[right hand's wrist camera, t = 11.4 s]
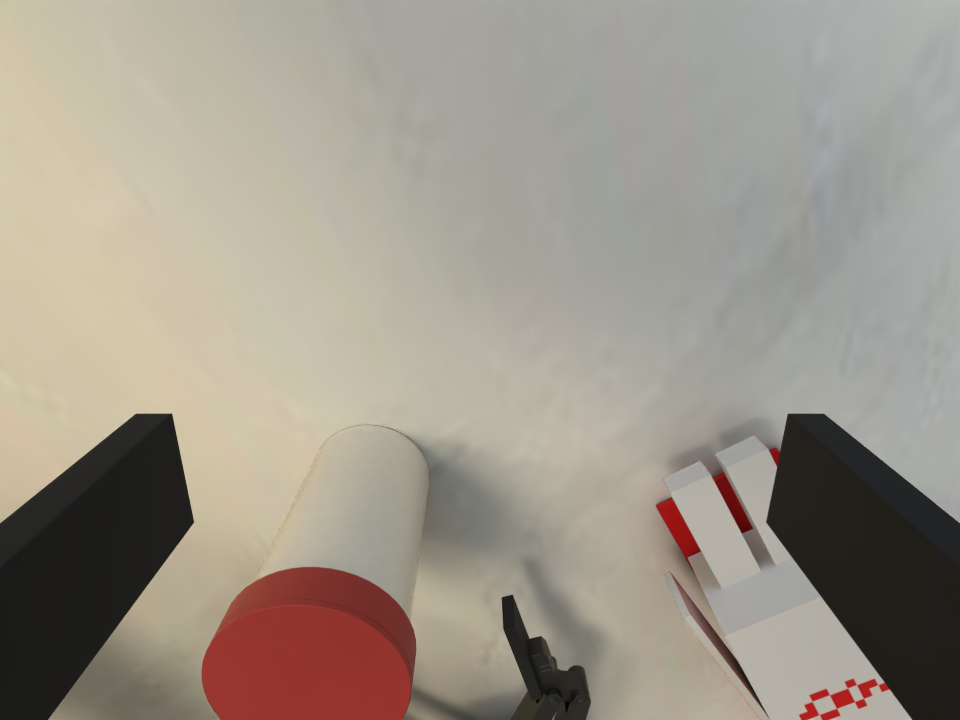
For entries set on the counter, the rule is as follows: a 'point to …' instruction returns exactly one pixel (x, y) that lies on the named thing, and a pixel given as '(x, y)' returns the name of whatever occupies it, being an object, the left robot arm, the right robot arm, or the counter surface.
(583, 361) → the counter surface
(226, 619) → the lid
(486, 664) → the counter surface
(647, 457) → the counter surface
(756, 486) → the toy
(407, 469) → the jar
